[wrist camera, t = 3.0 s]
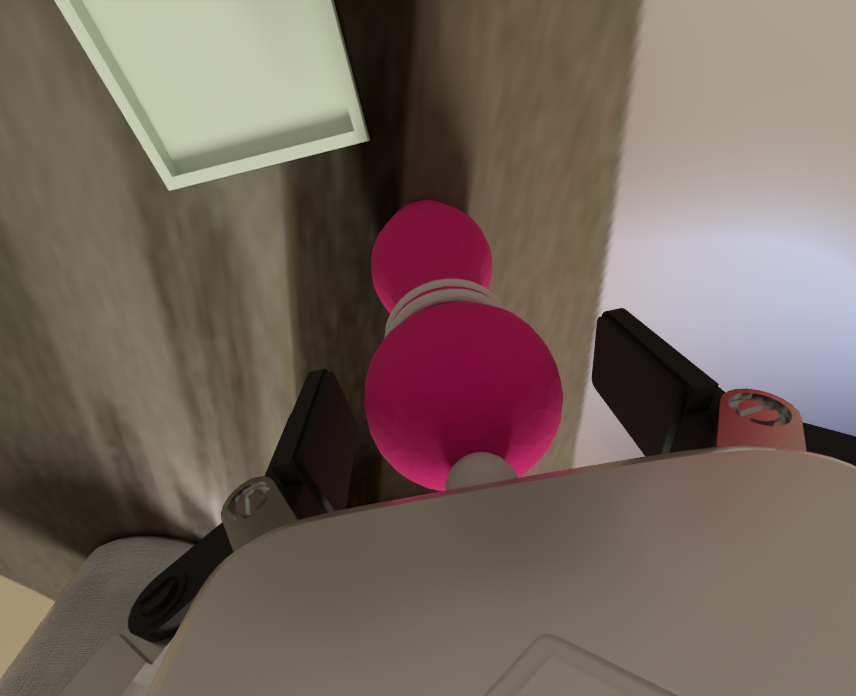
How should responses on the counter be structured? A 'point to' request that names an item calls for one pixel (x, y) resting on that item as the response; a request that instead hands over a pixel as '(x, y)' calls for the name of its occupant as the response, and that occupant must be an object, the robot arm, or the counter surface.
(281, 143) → the tray
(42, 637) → the planter
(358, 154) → the counter surface
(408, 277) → the pepper mill
